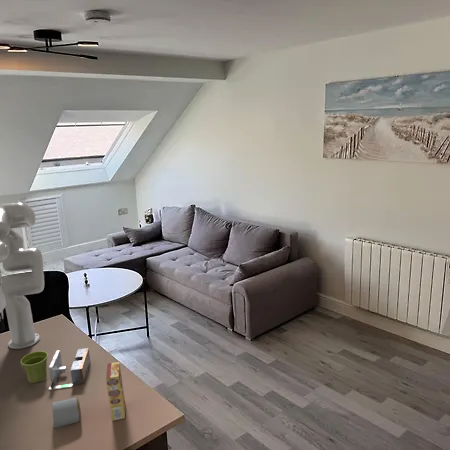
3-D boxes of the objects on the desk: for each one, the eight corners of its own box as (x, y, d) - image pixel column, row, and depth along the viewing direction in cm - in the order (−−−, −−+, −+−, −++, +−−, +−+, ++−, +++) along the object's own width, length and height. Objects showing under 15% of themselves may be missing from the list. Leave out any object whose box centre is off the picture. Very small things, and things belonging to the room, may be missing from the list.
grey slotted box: (48, 390, 148) (46, 375, 147) (59, 365, 164) (56, 351, 162) (83, 385, 150) (81, 370, 149) (90, 361, 165) (88, 348, 164)
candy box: (125, 419, 132) (119, 376, 128) (111, 421, 131) (105, 378, 127) (125, 401, 140) (120, 361, 136) (112, 404, 139) (106, 363, 136)
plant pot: (56, 373, 159) (53, 352, 157) (38, 387, 150) (34, 366, 148) (37, 369, 162) (33, 349, 160) (18, 383, 153) (14, 362, 151)
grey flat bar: (50, 388, 149) (47, 371, 147) (59, 366, 163) (56, 350, 161) (61, 387, 149) (58, 369, 148) (69, 365, 163) (67, 349, 161)
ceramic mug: (83, 424, 130) (79, 403, 128) (55, 434, 127) (51, 412, 125) (79, 405, 139) (76, 385, 138) (53, 414, 136) (49, 393, 134)
